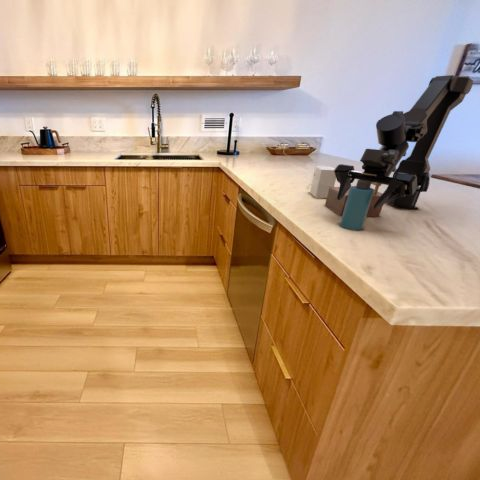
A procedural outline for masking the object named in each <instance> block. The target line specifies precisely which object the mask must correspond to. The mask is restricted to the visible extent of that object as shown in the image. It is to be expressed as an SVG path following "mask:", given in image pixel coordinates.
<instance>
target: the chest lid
mask: <svg viewBox="0 0 480 480" xmlns="http://www.w3.org/2000/svg"><path fill="white" fill-rule="evenodd" d="M372 185H373V186H375V188H374V193H373V196H372V198H380V197H381V195H382V194H383V193H382V192H380V191H379V188H380V187H381V186H382V185H383V184H379V183H373V182H371V185H370V187H371V186H372ZM339 188H340V186H334V187H329V189H331V190H332V191H334V192H336V193H338V192H339ZM349 191H350V188H349V190H348V191H347V192H346V193H345V195H344V197H346V198H348V194H349Z"/></svg>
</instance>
